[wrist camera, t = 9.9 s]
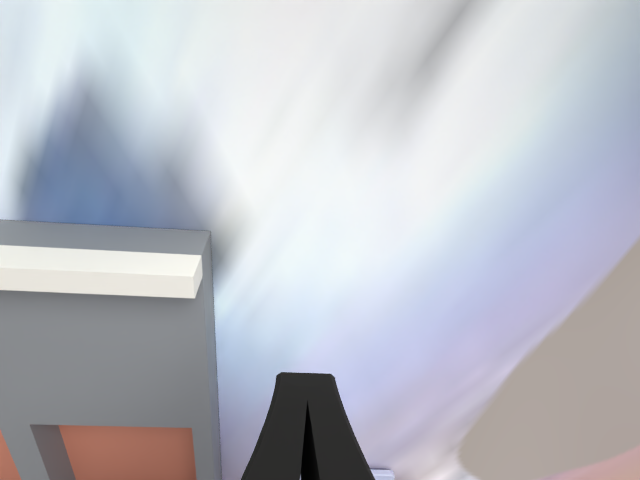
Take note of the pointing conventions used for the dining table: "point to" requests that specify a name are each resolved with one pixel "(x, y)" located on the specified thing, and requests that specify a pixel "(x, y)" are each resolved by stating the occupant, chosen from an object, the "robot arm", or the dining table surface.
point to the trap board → (107, 353)
